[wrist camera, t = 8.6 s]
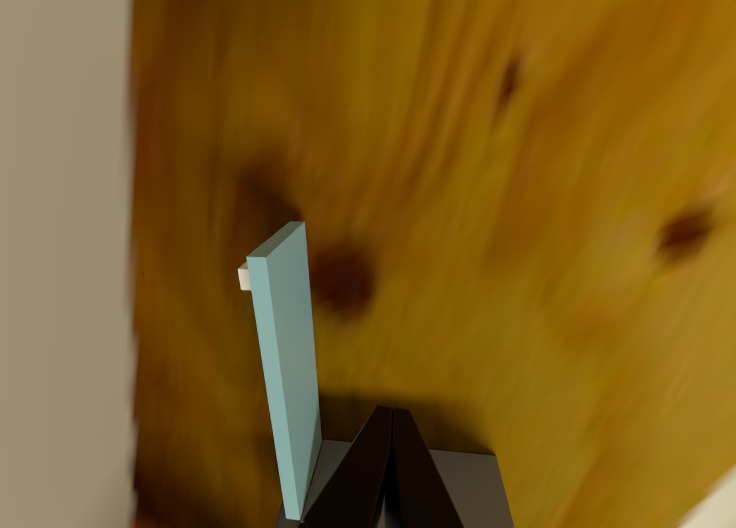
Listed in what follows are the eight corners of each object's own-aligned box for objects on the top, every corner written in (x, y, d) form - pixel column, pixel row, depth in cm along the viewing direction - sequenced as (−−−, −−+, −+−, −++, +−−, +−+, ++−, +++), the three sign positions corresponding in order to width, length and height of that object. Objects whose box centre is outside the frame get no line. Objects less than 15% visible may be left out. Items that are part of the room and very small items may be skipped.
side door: (321, 441, 24) (299, 520, 19) (297, 438, 24) (269, 516, 19) (304, 221, 18) (265, 257, 13) (271, 220, 18) (221, 255, 13)
